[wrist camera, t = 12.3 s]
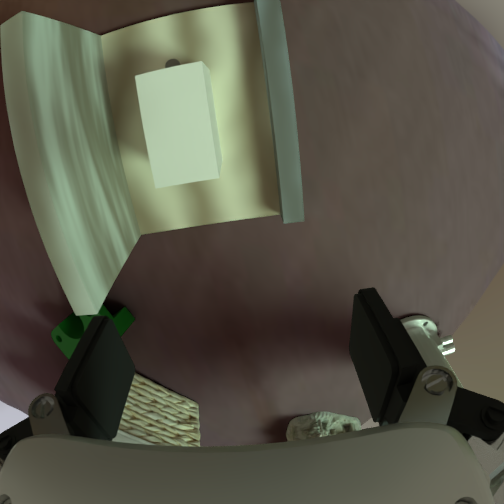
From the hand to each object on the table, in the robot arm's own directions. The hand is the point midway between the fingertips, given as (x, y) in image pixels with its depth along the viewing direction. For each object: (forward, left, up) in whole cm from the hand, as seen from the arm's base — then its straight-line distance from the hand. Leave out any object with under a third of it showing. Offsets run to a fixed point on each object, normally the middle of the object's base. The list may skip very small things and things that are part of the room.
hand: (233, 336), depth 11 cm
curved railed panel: (+3, -7, -22) cm, 24 cm away
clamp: (+22, +15, -23) cm, 35 cm away
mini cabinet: (+3, -7, -21) cm, 23 cm away
